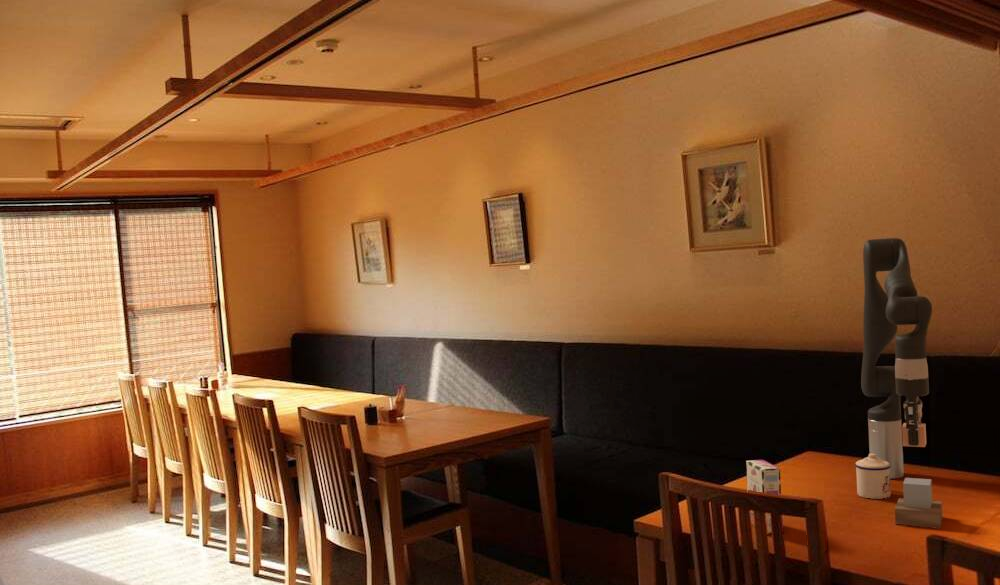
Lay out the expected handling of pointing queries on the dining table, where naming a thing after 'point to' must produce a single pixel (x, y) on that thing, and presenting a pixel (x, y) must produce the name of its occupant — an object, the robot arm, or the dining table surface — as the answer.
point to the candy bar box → (763, 481)
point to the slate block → (917, 493)
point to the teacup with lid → (873, 478)
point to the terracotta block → (920, 435)
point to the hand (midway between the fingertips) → (914, 442)
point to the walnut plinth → (919, 515)
